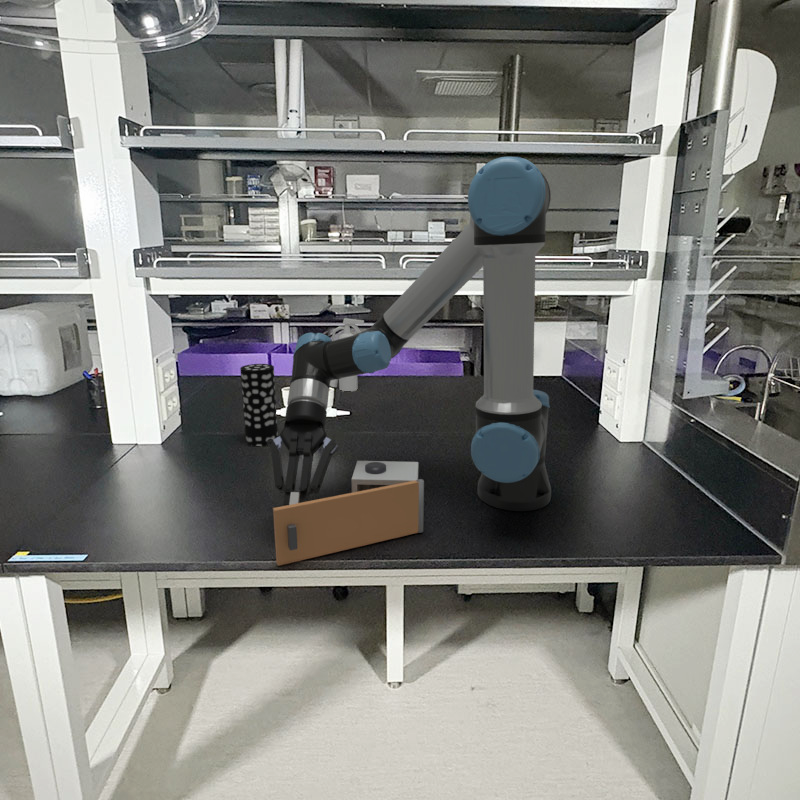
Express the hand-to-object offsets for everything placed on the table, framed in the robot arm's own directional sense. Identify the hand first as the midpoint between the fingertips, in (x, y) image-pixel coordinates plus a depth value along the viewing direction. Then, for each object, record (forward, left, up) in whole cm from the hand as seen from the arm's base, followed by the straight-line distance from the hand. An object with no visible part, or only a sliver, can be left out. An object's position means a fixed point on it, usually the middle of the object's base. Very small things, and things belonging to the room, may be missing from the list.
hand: (292, 531), depth 100 cm
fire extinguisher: (+6, -110, -5) cm, 110 cm away
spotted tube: (+21, -56, -5) cm, 60 cm away
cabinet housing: (-15, -14, -5) cm, 21 cm away
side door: (-10, -2, -4) cm, 11 cm away
